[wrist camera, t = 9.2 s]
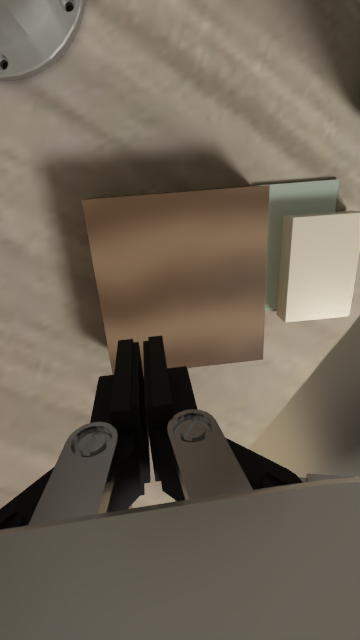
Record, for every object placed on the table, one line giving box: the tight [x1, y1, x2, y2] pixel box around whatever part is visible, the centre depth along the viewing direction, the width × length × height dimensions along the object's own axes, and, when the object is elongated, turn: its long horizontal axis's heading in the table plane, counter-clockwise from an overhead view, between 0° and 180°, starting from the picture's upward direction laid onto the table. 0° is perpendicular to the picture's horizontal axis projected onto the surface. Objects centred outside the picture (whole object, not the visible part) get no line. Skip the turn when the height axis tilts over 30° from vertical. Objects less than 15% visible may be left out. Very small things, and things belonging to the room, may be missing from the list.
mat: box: [258, 179, 339, 311], centre depth 28 cm, size 11×7×1 cm, turn 4°
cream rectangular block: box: [277, 211, 360, 322], centre depth 28 cm, size 9×6×2 cm, turn 3°
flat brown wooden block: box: [82, 185, 270, 375], centre depth 26 cm, size 14×13×4 cm
